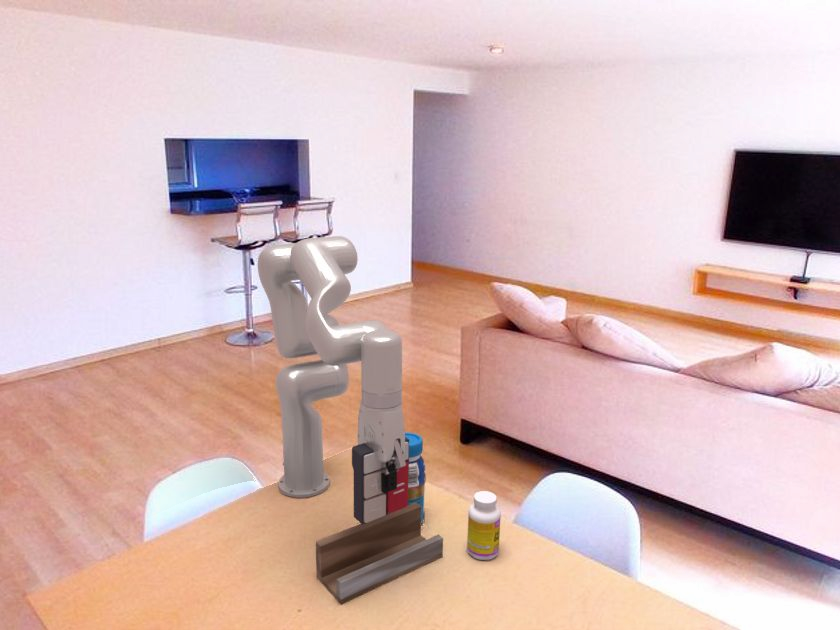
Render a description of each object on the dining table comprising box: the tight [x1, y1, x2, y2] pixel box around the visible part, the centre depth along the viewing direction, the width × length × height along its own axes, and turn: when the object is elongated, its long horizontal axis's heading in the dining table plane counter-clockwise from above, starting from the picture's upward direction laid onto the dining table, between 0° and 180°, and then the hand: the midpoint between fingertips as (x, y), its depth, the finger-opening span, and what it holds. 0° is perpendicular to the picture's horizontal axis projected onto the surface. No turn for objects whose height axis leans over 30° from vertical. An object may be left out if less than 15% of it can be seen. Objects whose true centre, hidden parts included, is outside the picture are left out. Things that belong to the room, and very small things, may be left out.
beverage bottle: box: [405, 432, 427, 524], centre depth 141 cm, size 8×8×20 cm
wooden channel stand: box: [315, 502, 444, 605], centre depth 126 cm, size 10×24×8 cm, turn 127°
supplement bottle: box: [466, 490, 502, 561], centre depth 131 cm, size 7×7×13 cm
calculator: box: [351, 437, 409, 524], centre depth 122 cm, size 11×4×15 cm, turn 127°
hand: (382, 484), depth 122 cm, fingers closed on calculator, 3 cm apart
